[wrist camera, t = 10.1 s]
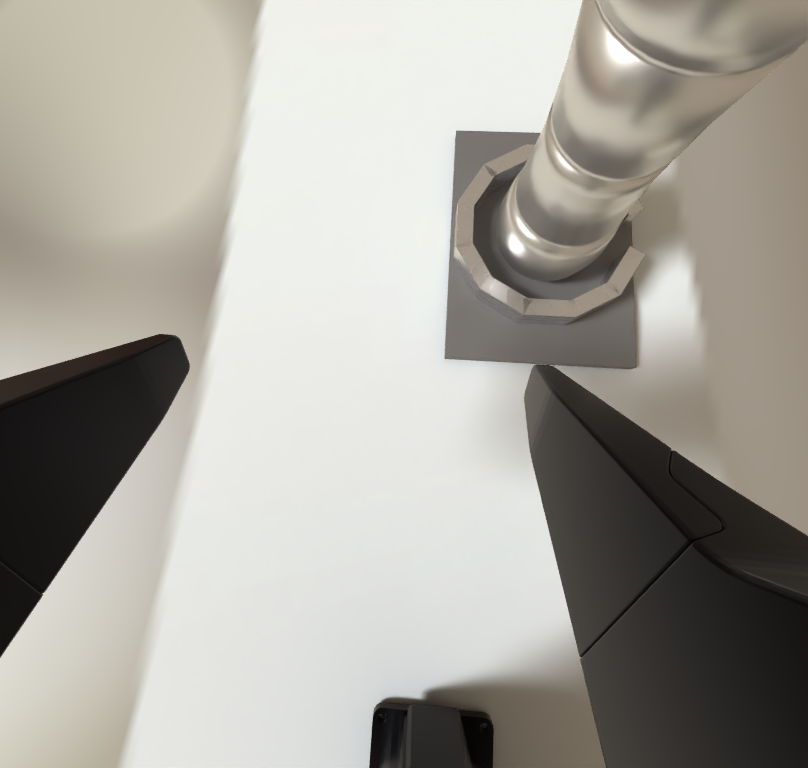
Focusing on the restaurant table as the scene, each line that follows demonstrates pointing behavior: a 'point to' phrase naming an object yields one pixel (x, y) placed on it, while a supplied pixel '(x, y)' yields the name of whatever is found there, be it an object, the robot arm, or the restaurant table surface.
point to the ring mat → (530, 285)
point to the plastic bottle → (633, 115)
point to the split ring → (504, 296)
